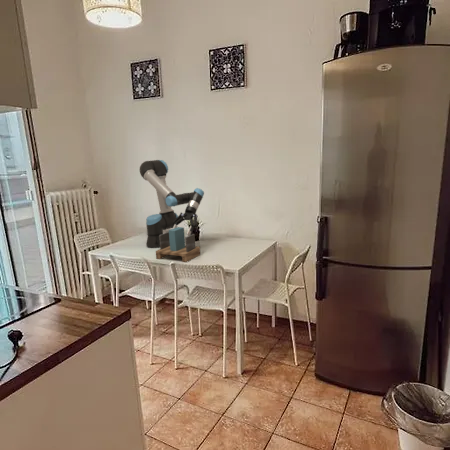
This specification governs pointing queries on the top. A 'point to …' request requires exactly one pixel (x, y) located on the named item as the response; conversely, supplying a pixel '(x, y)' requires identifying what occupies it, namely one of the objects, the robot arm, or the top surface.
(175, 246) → the book
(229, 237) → the top surface
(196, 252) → the shelf
